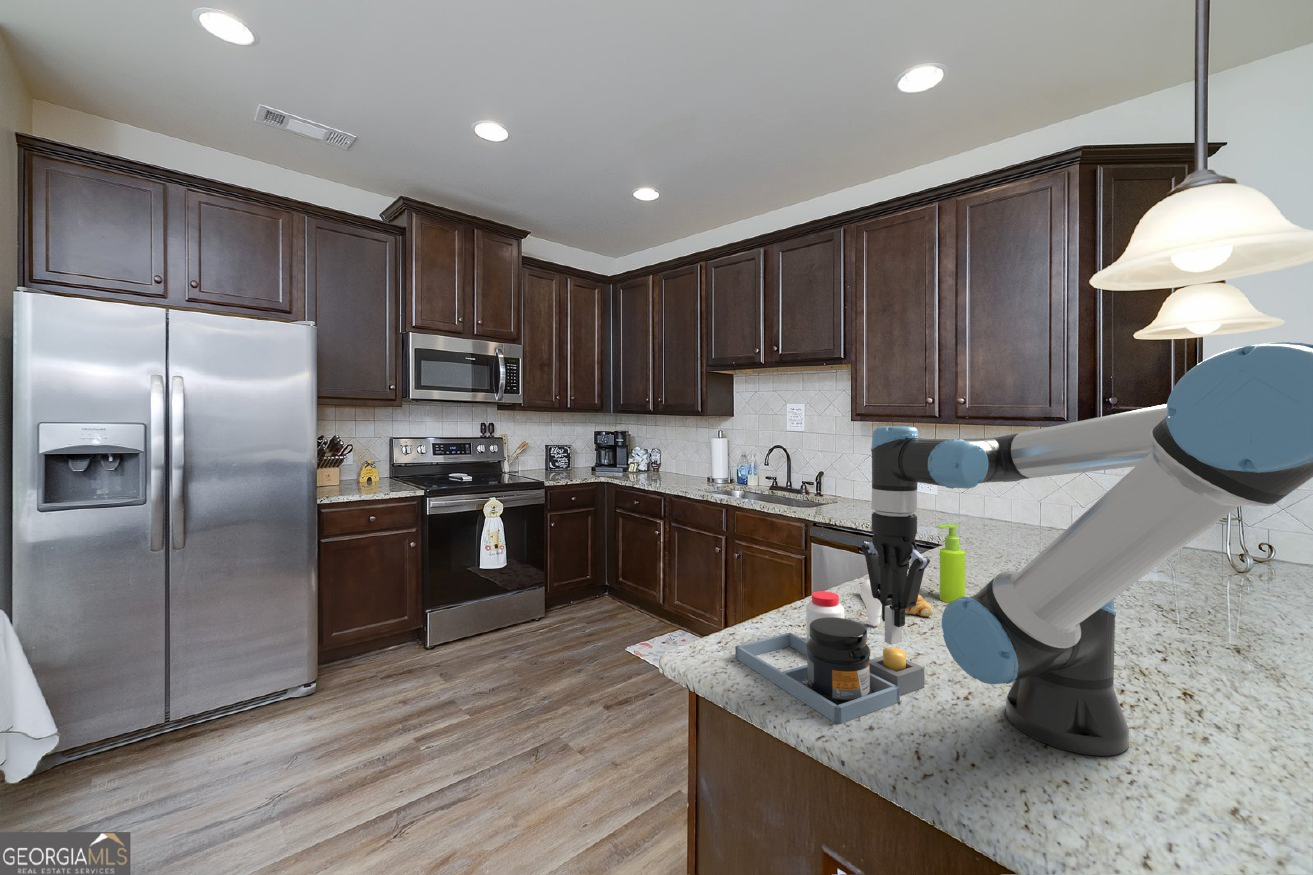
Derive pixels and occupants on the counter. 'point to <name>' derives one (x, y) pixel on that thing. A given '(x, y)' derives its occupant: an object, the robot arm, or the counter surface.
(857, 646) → the supplement container
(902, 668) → the button
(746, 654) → the frame
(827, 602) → the pill bottle
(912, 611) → the croissant
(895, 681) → the grey egg holder
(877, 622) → the lightbulb
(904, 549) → the robot arm
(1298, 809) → the counter surface
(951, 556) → the soap dispenser
